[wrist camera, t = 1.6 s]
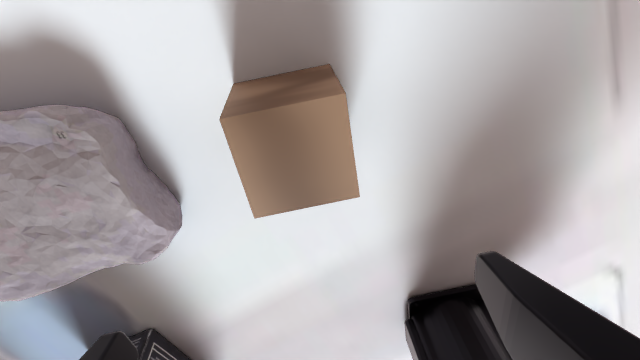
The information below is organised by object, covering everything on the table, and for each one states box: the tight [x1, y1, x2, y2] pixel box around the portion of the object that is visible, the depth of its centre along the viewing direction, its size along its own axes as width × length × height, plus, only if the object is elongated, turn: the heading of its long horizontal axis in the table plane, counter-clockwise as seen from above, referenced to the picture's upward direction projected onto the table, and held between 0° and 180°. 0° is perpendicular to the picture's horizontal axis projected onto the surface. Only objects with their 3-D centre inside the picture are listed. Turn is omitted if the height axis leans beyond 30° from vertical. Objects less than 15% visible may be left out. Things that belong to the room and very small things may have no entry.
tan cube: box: [220, 64, 360, 218], centre depth 17 cm, size 5×5×5 cm
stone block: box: [0, 104, 182, 302], centre depth 18 cm, size 12×5×10 cm
